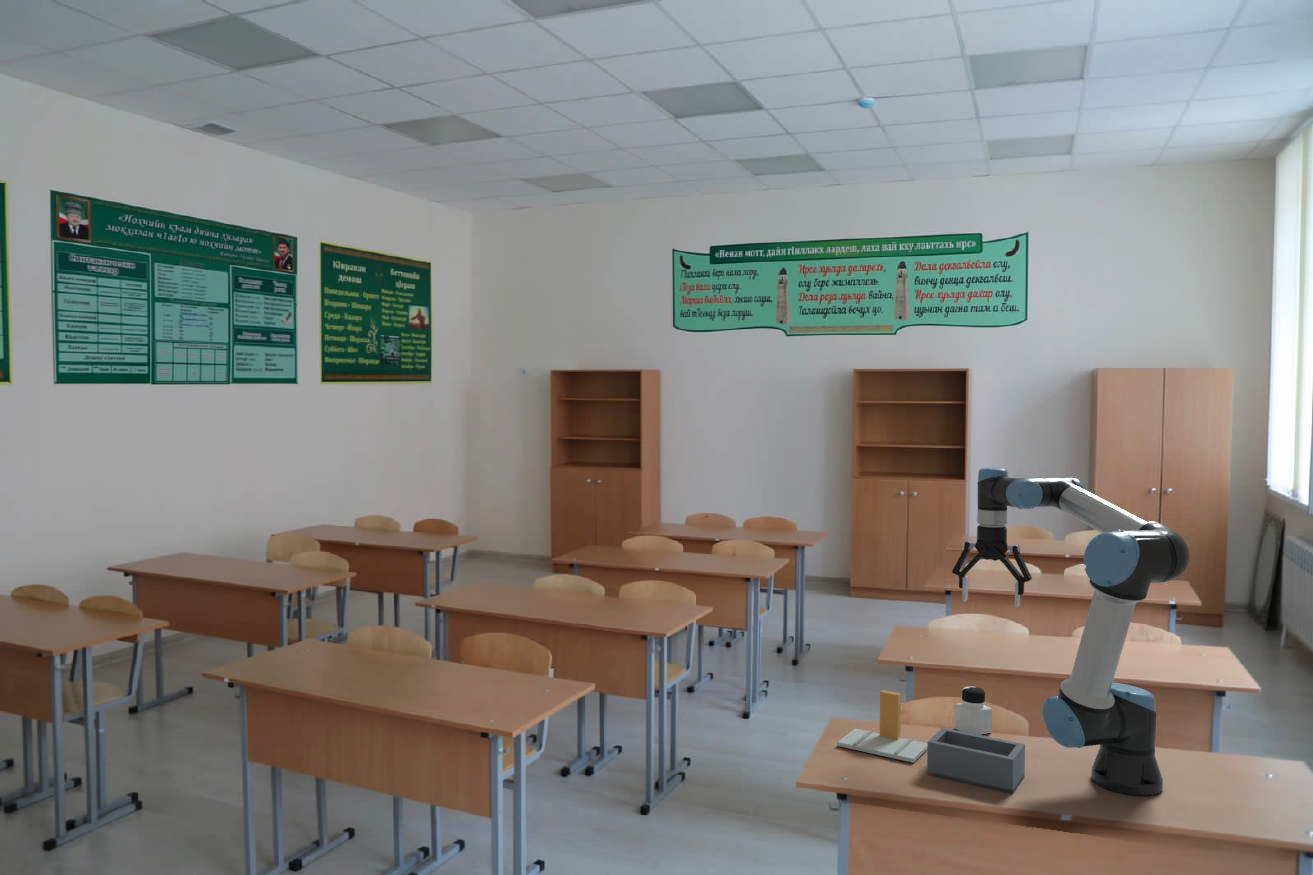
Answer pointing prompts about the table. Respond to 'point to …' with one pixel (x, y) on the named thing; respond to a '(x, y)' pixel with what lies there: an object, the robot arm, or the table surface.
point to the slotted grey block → (886, 734)
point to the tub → (976, 760)
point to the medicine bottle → (973, 712)
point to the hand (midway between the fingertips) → (990, 603)
